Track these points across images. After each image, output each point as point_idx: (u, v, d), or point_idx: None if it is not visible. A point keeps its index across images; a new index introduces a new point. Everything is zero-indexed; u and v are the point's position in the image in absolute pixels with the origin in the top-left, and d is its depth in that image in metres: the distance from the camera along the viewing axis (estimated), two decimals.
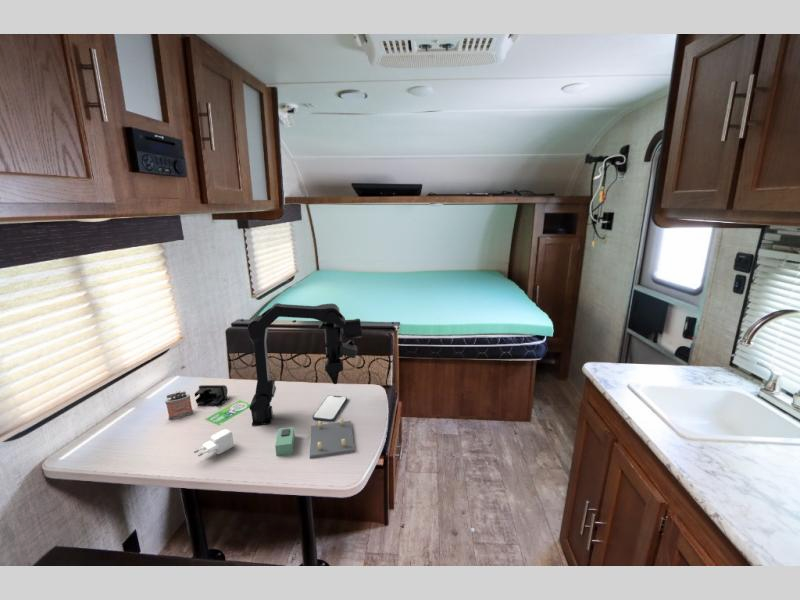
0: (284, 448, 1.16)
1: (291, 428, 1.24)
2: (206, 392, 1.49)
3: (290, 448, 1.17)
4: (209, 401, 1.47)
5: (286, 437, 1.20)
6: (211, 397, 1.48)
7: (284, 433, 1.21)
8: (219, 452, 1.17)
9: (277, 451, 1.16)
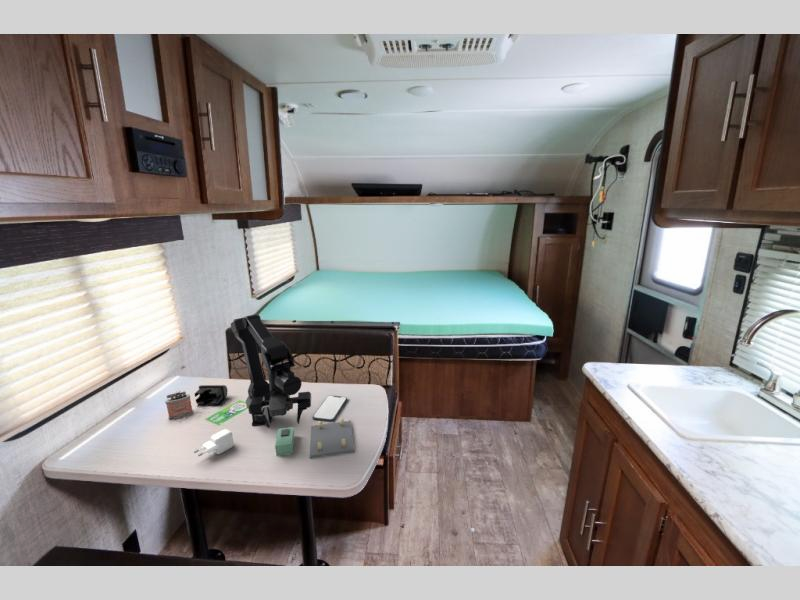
0: (284, 449, 1.16)
1: (290, 428, 1.24)
2: (206, 392, 1.49)
3: (290, 448, 1.17)
4: (209, 401, 1.47)
5: (286, 437, 1.20)
6: (211, 397, 1.48)
7: (284, 433, 1.21)
8: (219, 452, 1.17)
9: (277, 451, 1.16)
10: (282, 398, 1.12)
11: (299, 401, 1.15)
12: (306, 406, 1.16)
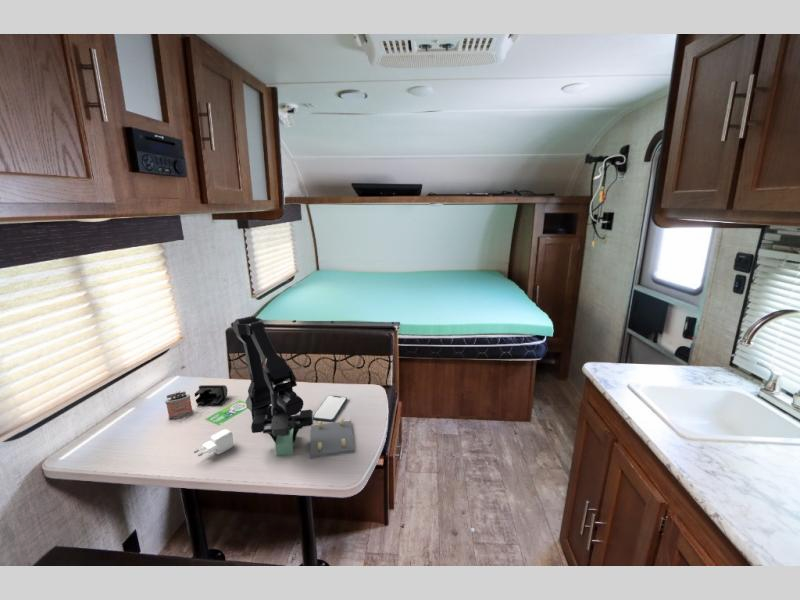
0: (284, 448, 1.16)
1: None
2: (206, 392, 1.49)
3: (290, 447, 1.17)
4: (209, 401, 1.47)
5: (286, 436, 1.19)
6: (211, 397, 1.48)
7: None
8: (219, 452, 1.17)
9: (277, 451, 1.16)
10: (284, 417, 1.13)
11: (301, 420, 1.17)
12: (308, 424, 1.17)
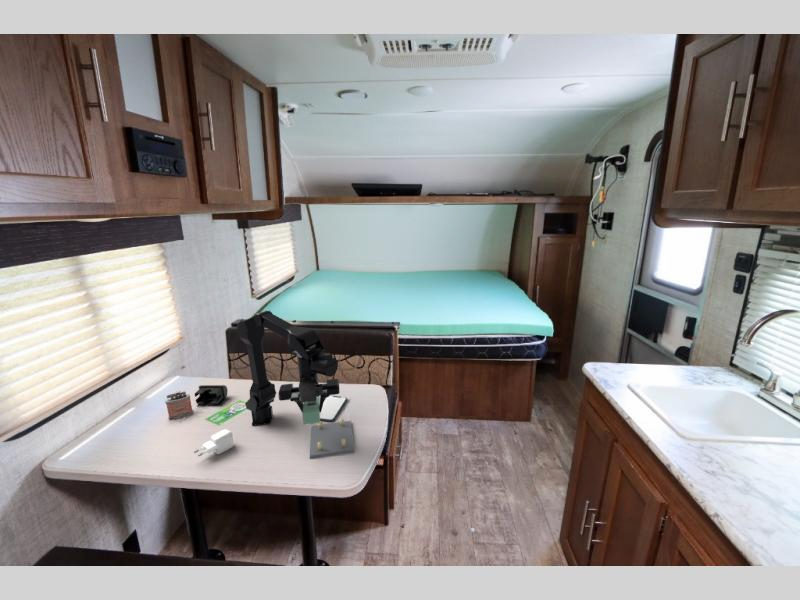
0: (311, 416, 1.15)
1: None
2: (206, 392, 1.49)
3: (317, 416, 1.15)
4: (209, 401, 1.47)
5: (313, 406, 1.18)
6: (211, 397, 1.48)
7: (310, 402, 1.19)
8: (219, 452, 1.17)
9: (304, 419, 1.15)
10: (312, 384, 1.12)
11: (328, 388, 1.16)
12: (335, 393, 1.16)
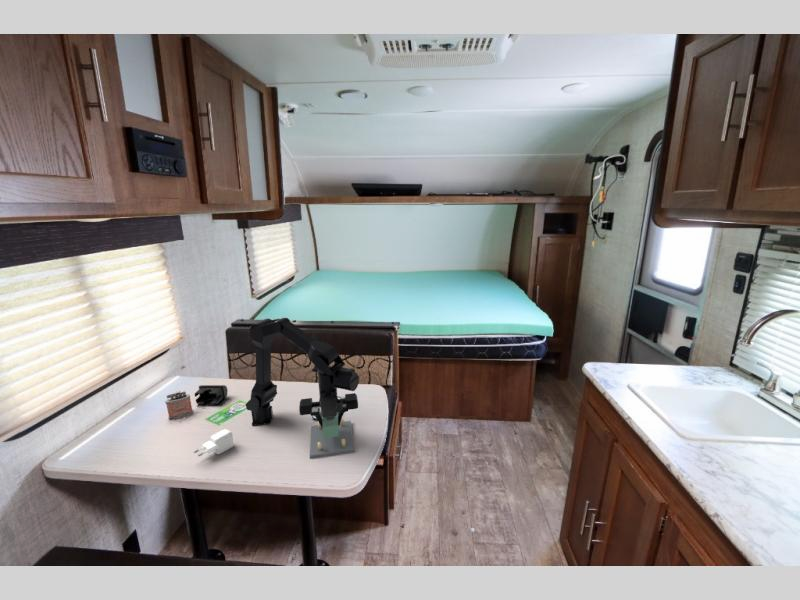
0: (331, 430, 1.18)
1: None
2: (206, 392, 1.49)
3: (336, 430, 1.18)
4: (209, 401, 1.47)
5: (332, 419, 1.21)
6: (211, 397, 1.48)
7: None
8: (219, 452, 1.17)
9: (324, 433, 1.18)
10: (332, 400, 1.15)
11: (347, 402, 1.19)
12: (354, 407, 1.19)
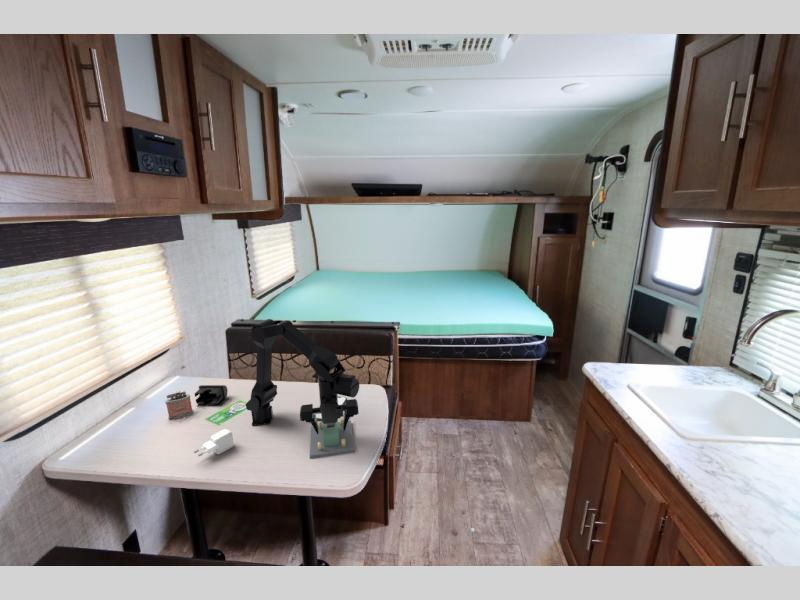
0: (332, 439, 1.19)
1: None
2: (206, 392, 1.49)
3: (337, 438, 1.19)
4: (209, 401, 1.47)
5: (332, 428, 1.22)
6: (211, 397, 1.48)
7: (330, 424, 1.23)
8: (219, 452, 1.17)
9: (325, 441, 1.19)
10: (333, 406, 1.16)
11: (348, 408, 1.19)
12: (354, 413, 1.20)
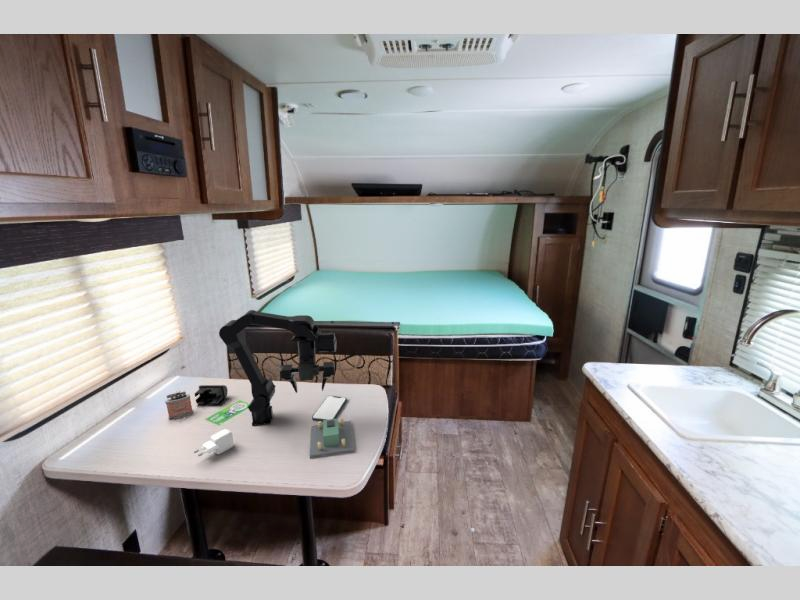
0: (332, 439, 1.19)
1: (335, 419, 1.27)
2: (206, 392, 1.49)
3: (337, 438, 1.19)
4: (209, 401, 1.47)
5: (332, 428, 1.22)
6: (211, 397, 1.48)
7: (330, 424, 1.23)
8: (219, 452, 1.17)
9: (325, 441, 1.19)
10: (310, 365, 1.25)
11: (324, 369, 1.29)
12: (330, 374, 1.29)
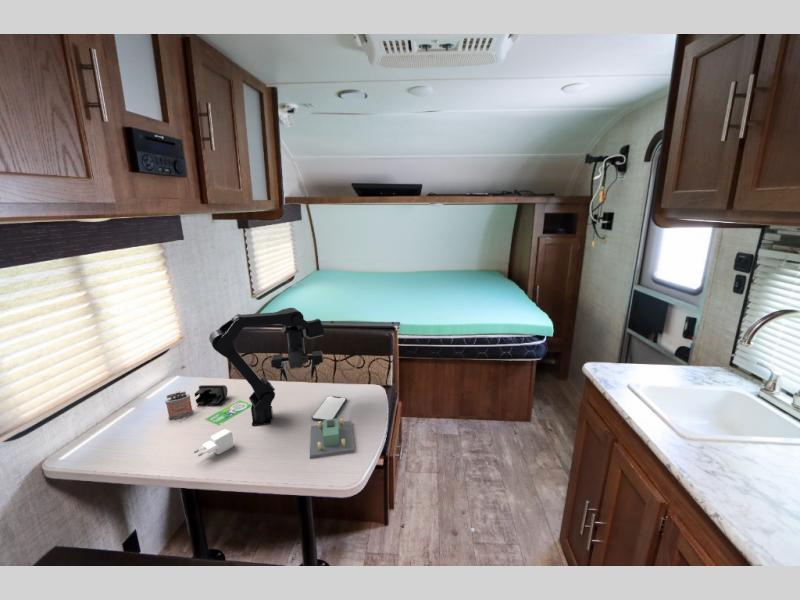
0: (332, 439, 1.19)
1: (335, 419, 1.27)
2: (206, 392, 1.49)
3: (337, 438, 1.19)
4: (209, 401, 1.47)
5: (332, 428, 1.22)
6: (211, 397, 1.48)
7: (330, 424, 1.23)
8: (219, 452, 1.17)
9: (325, 441, 1.19)
10: (299, 353, 1.33)
11: (313, 357, 1.36)
12: (319, 362, 1.37)
